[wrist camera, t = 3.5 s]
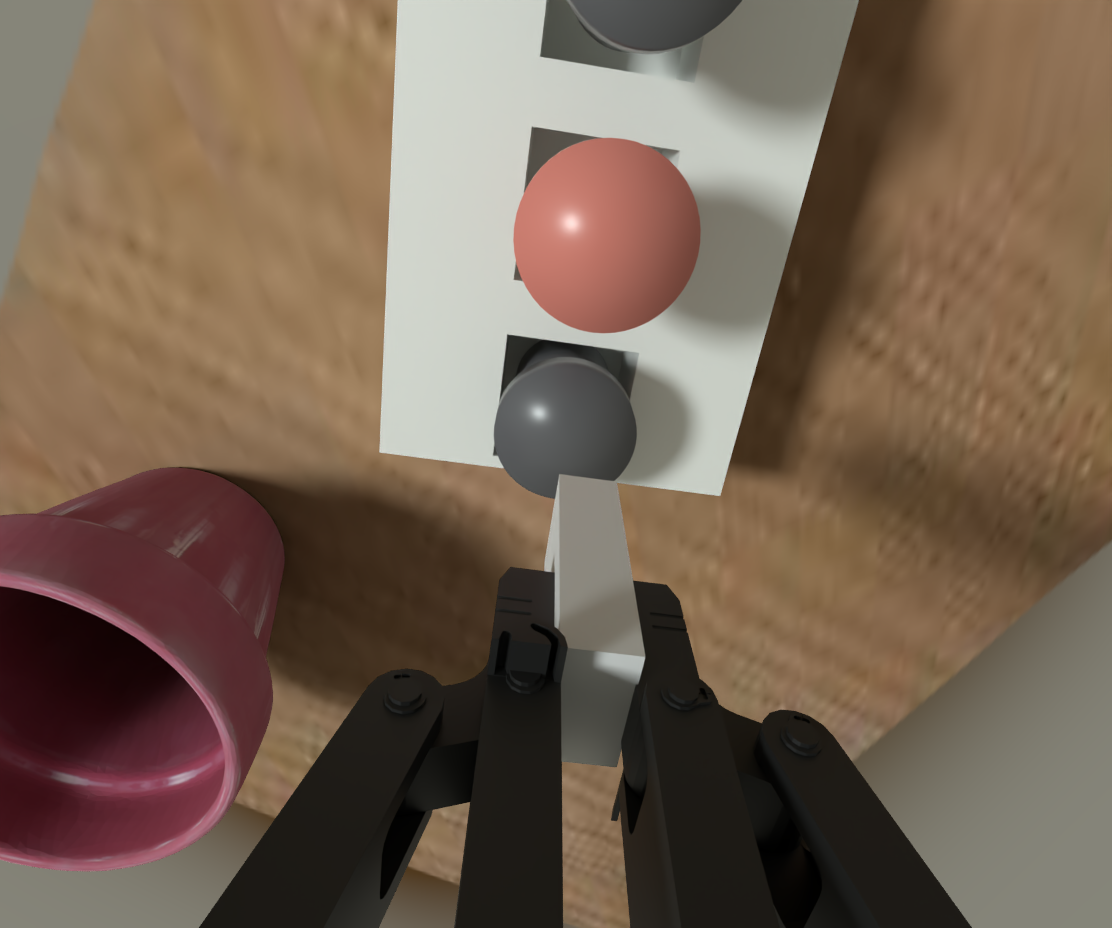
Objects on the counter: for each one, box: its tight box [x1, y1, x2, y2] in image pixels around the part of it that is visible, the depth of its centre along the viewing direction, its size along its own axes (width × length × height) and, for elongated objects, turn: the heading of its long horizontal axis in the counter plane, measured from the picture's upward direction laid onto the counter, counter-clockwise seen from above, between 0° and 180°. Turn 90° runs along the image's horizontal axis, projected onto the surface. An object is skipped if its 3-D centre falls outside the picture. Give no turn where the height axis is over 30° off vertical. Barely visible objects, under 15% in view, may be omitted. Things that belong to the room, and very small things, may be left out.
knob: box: [494, 339, 637, 499], centre depth 27 cm, size 5×5×6 cm
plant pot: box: [0, 468, 285, 871], centre depth 29 cm, size 14×14×13 cm
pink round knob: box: [513, 138, 701, 333], centre depth 21 cm, size 5×5×6 cm
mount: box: [380, 0, 859, 496], centre depth 26 cm, size 14×20×5 cm
